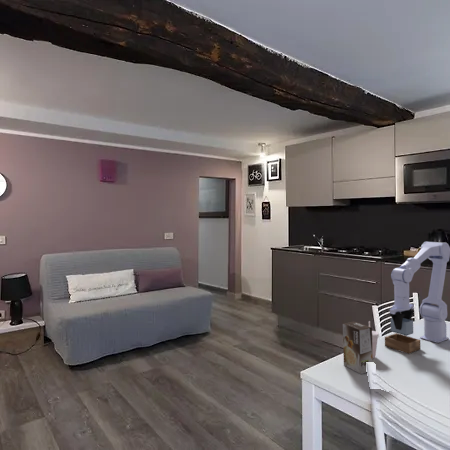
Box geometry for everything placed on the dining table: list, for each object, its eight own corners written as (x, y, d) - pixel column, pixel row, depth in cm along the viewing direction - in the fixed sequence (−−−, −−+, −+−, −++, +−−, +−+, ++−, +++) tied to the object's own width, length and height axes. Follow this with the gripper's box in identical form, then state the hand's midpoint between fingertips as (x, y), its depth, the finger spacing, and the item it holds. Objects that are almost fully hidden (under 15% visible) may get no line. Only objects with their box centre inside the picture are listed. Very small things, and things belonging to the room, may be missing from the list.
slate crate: (397, 329, 154) (397, 316, 154) (413, 333, 148) (413, 320, 148) (390, 331, 151) (390, 318, 151) (406, 335, 145) (406, 322, 145)
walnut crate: (396, 342, 156) (396, 333, 156) (420, 349, 147) (420, 339, 147) (384, 346, 152) (384, 337, 152) (408, 354, 143) (408, 344, 143)
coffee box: (374, 371, 128) (373, 327, 127) (360, 374, 125) (359, 330, 125) (355, 361, 136) (354, 320, 136) (342, 364, 134) (341, 323, 133)
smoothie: (375, 353, 144) (375, 319, 144) (381, 359, 138) (380, 324, 137) (359, 353, 145) (359, 319, 144) (364, 359, 138) (363, 324, 138)
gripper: (402, 292, 156) (403, 322, 156) (382, 297, 148) (383, 328, 149) (418, 295, 150) (418, 326, 150) (398, 300, 142) (399, 333, 143)
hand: (402, 328), depth 149 cm, fingers closed on slate crate, 5 cm apart
